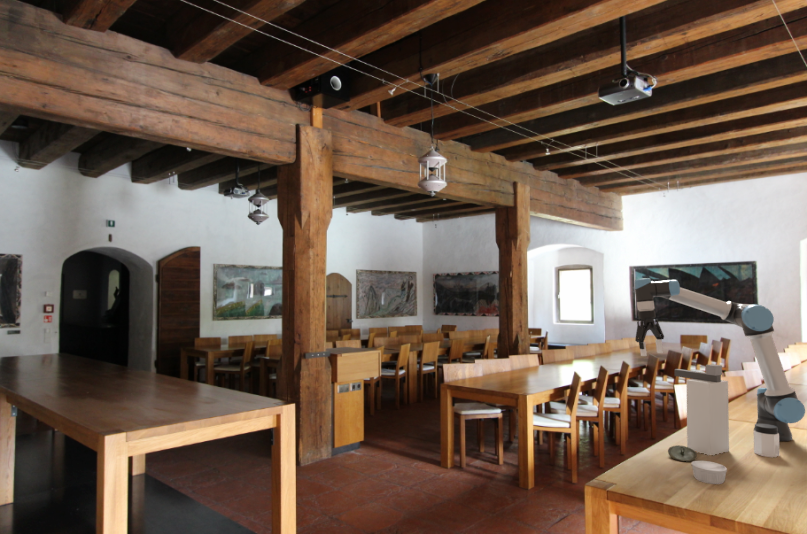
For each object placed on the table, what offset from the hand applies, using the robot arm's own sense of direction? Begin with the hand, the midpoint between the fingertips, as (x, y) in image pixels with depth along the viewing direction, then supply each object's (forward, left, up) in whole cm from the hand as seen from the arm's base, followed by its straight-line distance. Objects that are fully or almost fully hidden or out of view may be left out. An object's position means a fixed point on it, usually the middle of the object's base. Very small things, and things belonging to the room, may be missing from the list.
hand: (652, 354), depth 252 cm
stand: (+1, +27, -38) cm, 47 cm away
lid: (+21, +28, -39) cm, 52 cm away
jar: (-16, +42, -39) cm, 59 cm away
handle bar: (+1, +22, -8) cm, 24 cm away
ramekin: (+37, +48, -39) cm, 72 cm away
